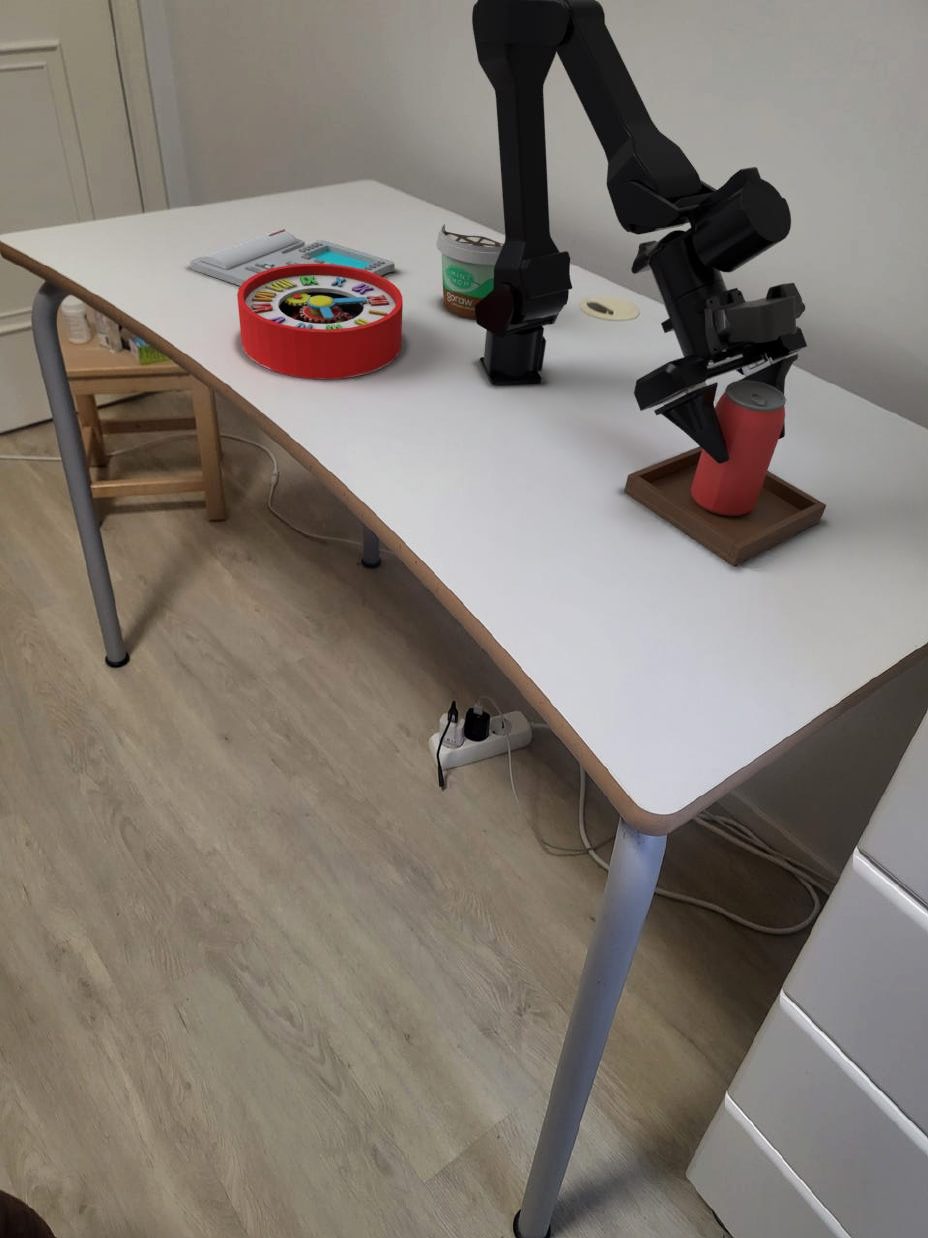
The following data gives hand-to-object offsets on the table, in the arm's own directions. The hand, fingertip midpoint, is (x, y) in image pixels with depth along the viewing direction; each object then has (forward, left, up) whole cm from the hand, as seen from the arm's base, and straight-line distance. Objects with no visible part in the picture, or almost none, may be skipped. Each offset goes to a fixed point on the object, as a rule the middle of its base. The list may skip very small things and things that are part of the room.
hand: (752, 450), depth 85 cm
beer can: (-1, +1, -7) cm, 7 cm away
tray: (-1, +1, -7) cm, 7 cm away
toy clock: (-37, +42, -7) cm, 56 cm away
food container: (-16, +50, -8) cm, 53 cm away
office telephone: (-38, +66, -8) cm, 77 cm away
